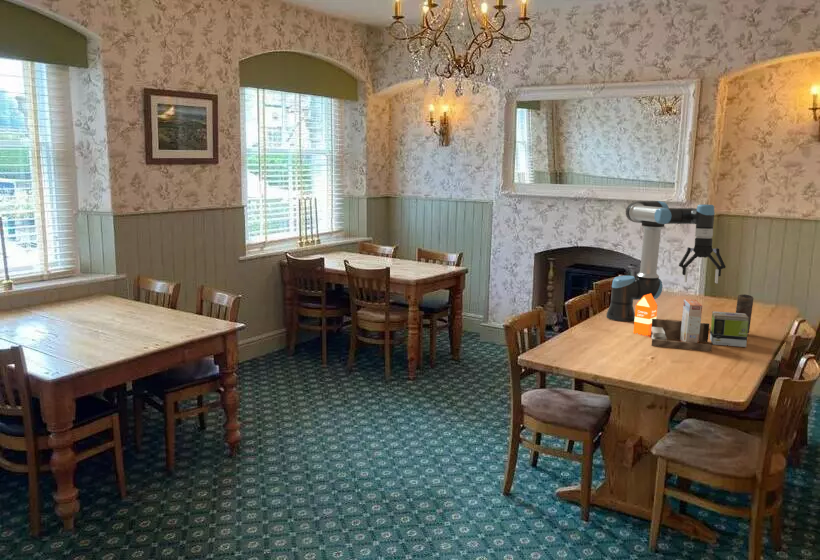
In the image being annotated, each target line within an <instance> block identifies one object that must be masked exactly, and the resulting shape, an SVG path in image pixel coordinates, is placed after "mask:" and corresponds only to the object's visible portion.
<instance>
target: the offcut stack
mask: <svg viewBox="0 0 820 560" xmlns="http://www.w3.org/2000/svg"><path fill="white" fill-rule="evenodd" d="M651 331H652V334H653V335H652V337H651V340H652V339H659V340H667V337H666V335H665V332H664V330H663V328H662V327H652V328H651Z"/></svg>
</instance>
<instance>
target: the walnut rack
mask: <svg viewBox="0 0 820 560" xmlns="http://www.w3.org/2000/svg"><path fill="white" fill-rule="evenodd" d="M681 324H682V320H672V319H671V320H670V319H662V318H659V319H658V318H656V319H652V327H662V328H663V330H664V332H665V335H666V337H667V338H666V340H659V339H652V335H653V334H652V331H651V335H650V338H651V346H652V347H659V346H660V347H661V348H669V347H670V348H671V349H679V348H682V349H681V350H689V349H692V350H691V351H700V350H701V352H710V351H711V352H712V348H713V344H712V343H711V344H708V341H709V335H710V334H709V331H710V323H709V322H708V323H706V322H701V323H700V332H699V341H698V343H690V342H681V341H680V333H681ZM652 327H651V328H652ZM669 339H670V340H669ZM700 342H701V343H700Z"/></svg>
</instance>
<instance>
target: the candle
mask: <svg viewBox="0 0 820 560" xmlns="http://www.w3.org/2000/svg"><path fill="white" fill-rule="evenodd" d="M754 300H755V299H754V297H753V296H752V295H749V294H738V295H737V300H736V301H737V302H736V306H735V308H736V309H735V313H745V314H746V315H747V316H748V317H749V323H748V334H749V333H750V329H751V320H752V312H753V307H754V306H753V305H754Z"/></svg>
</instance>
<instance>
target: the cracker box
mask: <svg viewBox="0 0 820 560" xmlns="http://www.w3.org/2000/svg"><path fill="white" fill-rule="evenodd" d="M682 305H683V306H682V315H681V317H682V318H681V321H682V324H681V333H680V340H679V341H680V342H690V343H699V332H700V323H702V322H701V321H702V313H703V305H702V304H701V303H700V302H699V301H698V300H697V299H694V298H693V299H690V298H684V299H683V304H682Z"/></svg>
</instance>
